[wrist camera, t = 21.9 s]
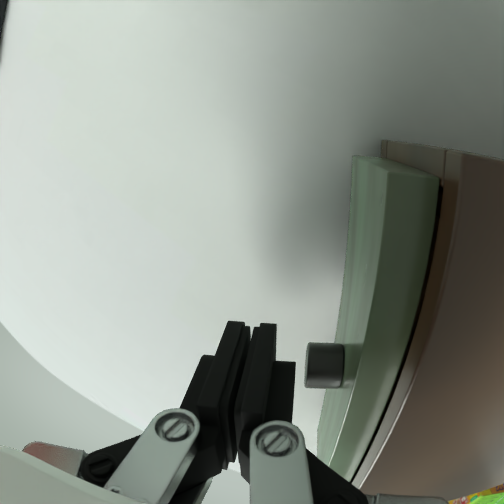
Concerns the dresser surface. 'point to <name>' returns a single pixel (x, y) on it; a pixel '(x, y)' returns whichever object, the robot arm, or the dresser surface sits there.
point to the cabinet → (450, 344)
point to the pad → (2, 13)
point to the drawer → (374, 305)
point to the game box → (483, 497)
